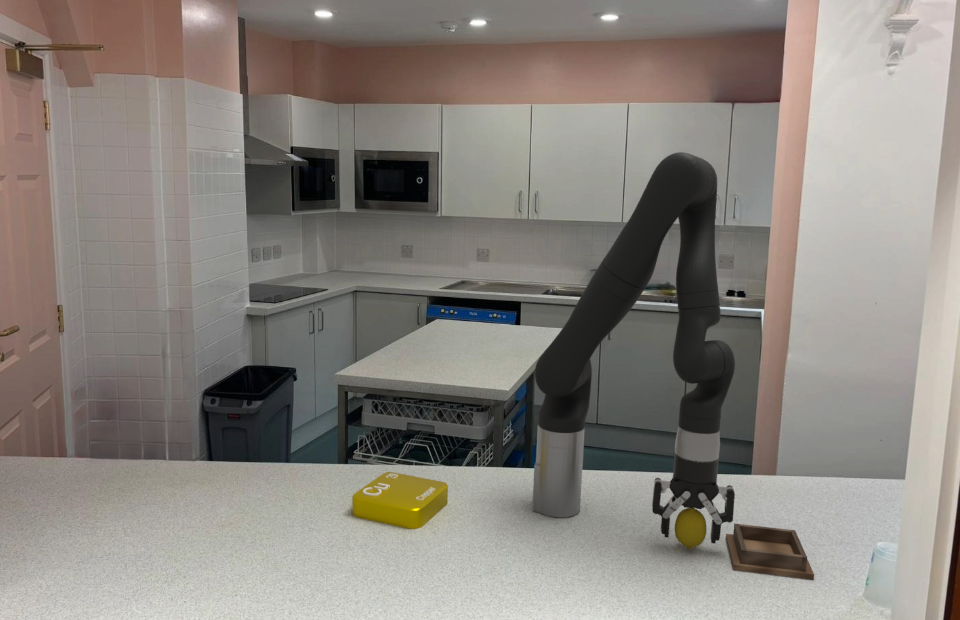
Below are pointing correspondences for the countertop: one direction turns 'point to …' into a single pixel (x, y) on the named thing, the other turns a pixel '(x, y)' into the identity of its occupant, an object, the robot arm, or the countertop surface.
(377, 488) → the element tile
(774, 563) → the lemon stand
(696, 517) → the lemon
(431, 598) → the countertop surface
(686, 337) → the robot arm
